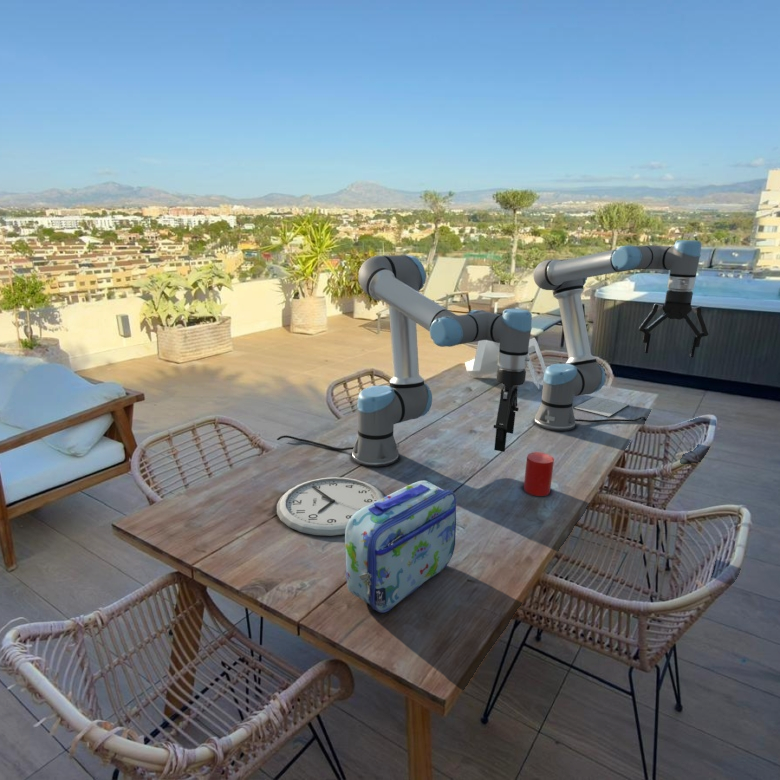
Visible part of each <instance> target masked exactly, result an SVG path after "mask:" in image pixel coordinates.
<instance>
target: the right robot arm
mask: <svg viewBox="0 0 780 780" xmlns="http://www.w3.org/2000/svg"><path fill="white" fill-rule="evenodd" d="M701 251H702V242H701V241H700V240H686V239H685V240H684V239H683V240H682V239H681V240H680V239H677V240H676V241H675V243H674V245H670V246H668V245H655V244H648V245H647V244H645V245H631V244H629V245H628V244H627V245H622V246H619V247H618V248H615V249H611V250H606V251H603V252H602V251H601V252H596V253H592V254H587V255H583V256H578V257H573V258H567V259H546V260H543V261H541V262H540V263H538V264H537V266H536V267H535V268H534V271H533V280H534V283H535V285H536V286H537V287H538V288H540V289H541V290H544V291H552V296H553V298H555V299H556V300H557V301H558V308H559V312H560V319H561V323H562V324H561V325H562V330H563V335H564V340H565V346H566V353H567V357H568V359H567V361H566V362H565V363H554V364H550V365H548V366H546V370H545V374H544V373H543V378H542V379H543V381H542V382H543V383H542V392H541V402H540V405H539V407H538V410H537V411H536V413H535V416H534V424H535V425H536V426H537V427H539V428H542V429H544V430H549V431H556V432H567V431H572V430H574V429H575V428H576V422H583V423H602V422H638V421H640V420H644V421H648V419H647V418H646V417H645V416H639V417H637V418H634V419H632V418H631V419H628V418H627V419H624V418H623V419H622V418H606V419H581V418H575V417H576V416H575V413H574V407H573V405H574V398H575V397H579V396H586V395H591V394H593V393H596V392H599V391H600V390H601V389H602V388H603V387H604V385H605V382H606V371H605V369H604V367H603V366H602V365H601V364H598V362H597V358H596V357H595V356H593V354H592V351H591V345H590V340H589V334H588V328H587V323H586V318H585V312H584V307H583V301H582V294H583V292H584V291H585V289H584V286H585V285H586V283H587V280H588V278H592V277H599V276H605V275H609V274H610V275H611V274H616V273H623V272H628V271H637V270H662V271H663V270H664V271H669V276H668V281H667V286H666V287H667V289H668V290H666V292H665V293H666V294H665V300H664V303H663V304H658V303H654V304H653V306H652V309H651V311H650V312H649V314H648V315H647V316H646V317H645V319H644V320H643V321H642V323H641V324H640V325H639V327H638V330H639V332H641V333H643V337H642V342H643V343H644V344H645V347H644V353H645V354H648V353H649V348H650V343H651V342H650V341H651V337H652V334H651V332H652V330H654V329H655V328H656V327H657V326H659V325H660V324H661V323H662V322H664V321H665V320H667V318H668V319H669V320H682V319H684V321H685V322H686V323H687V325H688V326H689V328H690V329H691V330H692V332H693V333H694V334H695V335H694V336H692V340H691V346H690V351H689V357H690V358H694V357H695V351H696V348H699V347H700V344H701V340H702V338H704V337H708V336H709V332H708V329H707V325H706V323H705V321H704V318H703V315H702V307H701V306H700V305H696V306H692V301H693V295H694V292H693V291H694V289H695V286H696V285H695V284H696V278H697V272H698V268H699V262H700V258H701ZM661 309H662V311H663V313H662V314H661V315H660V316H659V317H658V318H656V319H655V320H654V321H653V322H651V324H650V325H648V324H649V323H650V321H651V320H652V319H653V317H655V315H656V313H657V312H660V310H661ZM691 312H693V314H695V315H696V319H697V321H698V324H699V327H700V330H699V329H698V328H697V326H696V325H695V323H694V322H693V321H692V320H691V318H690V317H689V314H690V313H691ZM647 325H648V326H647ZM700 331H701V332H700Z"/></svg>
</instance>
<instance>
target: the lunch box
mask: <svg viewBox="0 0 780 780" xmlns="http://www.w3.org/2000/svg"><path fill="white" fill-rule="evenodd" d="M456 531H457V499H456V495H455V493H454V492H453V490H450V489H442V488H440V487H439V486H437V485H435V484H433V483H432V482H430V481H428V480H418V481H416V482H413V483H410V484H409V485H406V486H405V487H402V488H400V489H398V490H396V491H394V492H392V493H390V494H388V495H385V497H384V498H382V499H380V500H378V501H376V502H374V503H372V504H370V505H368V506H366V507H364V508H362V509H360V510H358V511H357V512H355V513H354V514H353V515H352V517H351V518H350V520H349V522H348V524H347V527H346V531H345V534H344V552H345V577H346V578H345V580H346V586H347V589H348V592H349V593H350V594H352V595H354V596H356V597H357V598H359V599H361V600H363V602H365V603H367V604H368V605H370V607H371V608H372V609H373V610H375V611H376V612H378V613H380V614H382V613H383V614H385V613H387V612H389V611H391V609H393V608H394V607H395V606H396V605H397V604H400V602H401V601H402V600H404V599H406V597H409V596H410V595H411V594H412V593H414V592H415V591H416V590H417V589H418V588H420V587H421V586H422V585H423V584H424V583H425V582H427V581H428V580H430V579H432V578H433V577H434V576H436V575H437V574H439V573H441V572H442V571H443V570H445V568H446V567H447V566H448V564H449V563H450V561H451V560H452V557H453V554H454V551H455V548H456V547H455V546H456Z"/></svg>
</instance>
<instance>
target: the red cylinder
mask: <svg viewBox="0 0 780 780" xmlns="http://www.w3.org/2000/svg"><path fill="white" fill-rule="evenodd" d="M554 463H555V458H554V457H553V456H552V455H550V454H548V453H545V452H537V451H535V452H530V453H528V454H527V455H526V464H525V473H524V481H523V482H524V483H523V490H524V491H525V492H526V493H527V494H529V495H531V496H535V497H546V496H548V495H549V494H551V487H552V480H553V479H552V478H553V470H554Z"/></svg>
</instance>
